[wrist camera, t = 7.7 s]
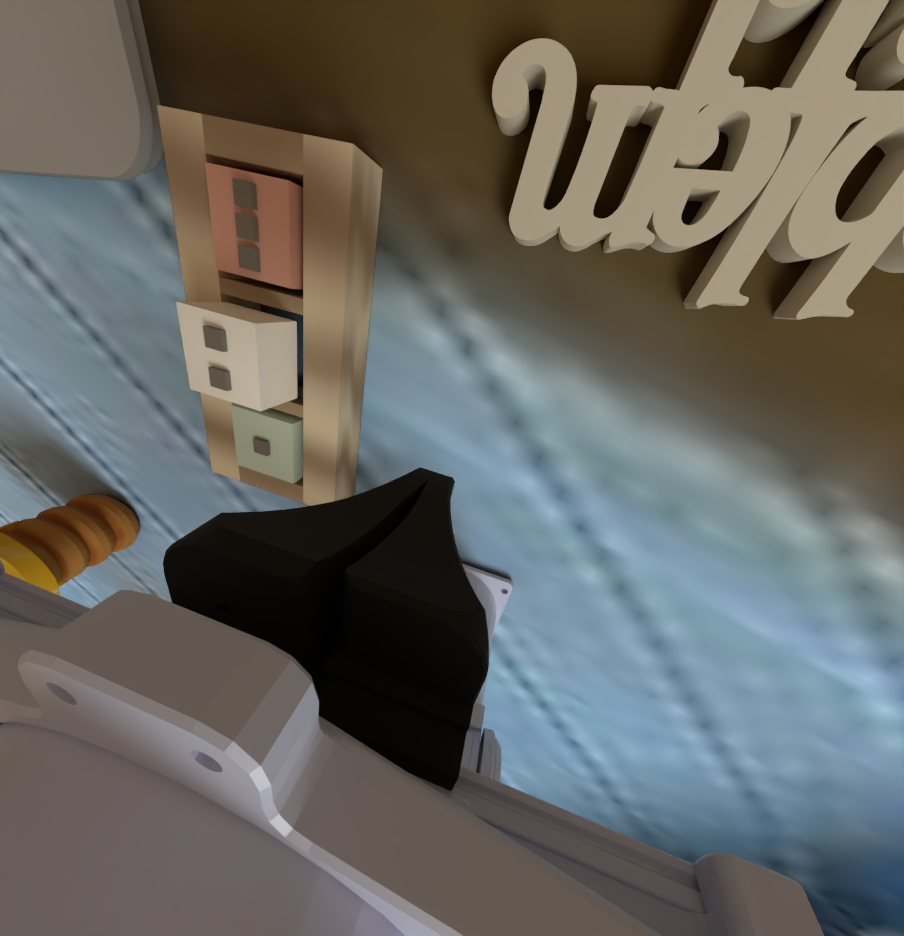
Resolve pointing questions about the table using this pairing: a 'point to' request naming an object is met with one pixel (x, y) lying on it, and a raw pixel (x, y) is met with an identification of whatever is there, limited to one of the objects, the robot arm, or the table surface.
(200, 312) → the cream studded block
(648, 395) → the table surface
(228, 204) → the button
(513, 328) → the table surface
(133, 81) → the tablet
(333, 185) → the button board
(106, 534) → the toy
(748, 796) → the table surface
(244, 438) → the button
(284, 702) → the robot arm
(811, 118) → the decorative sign
